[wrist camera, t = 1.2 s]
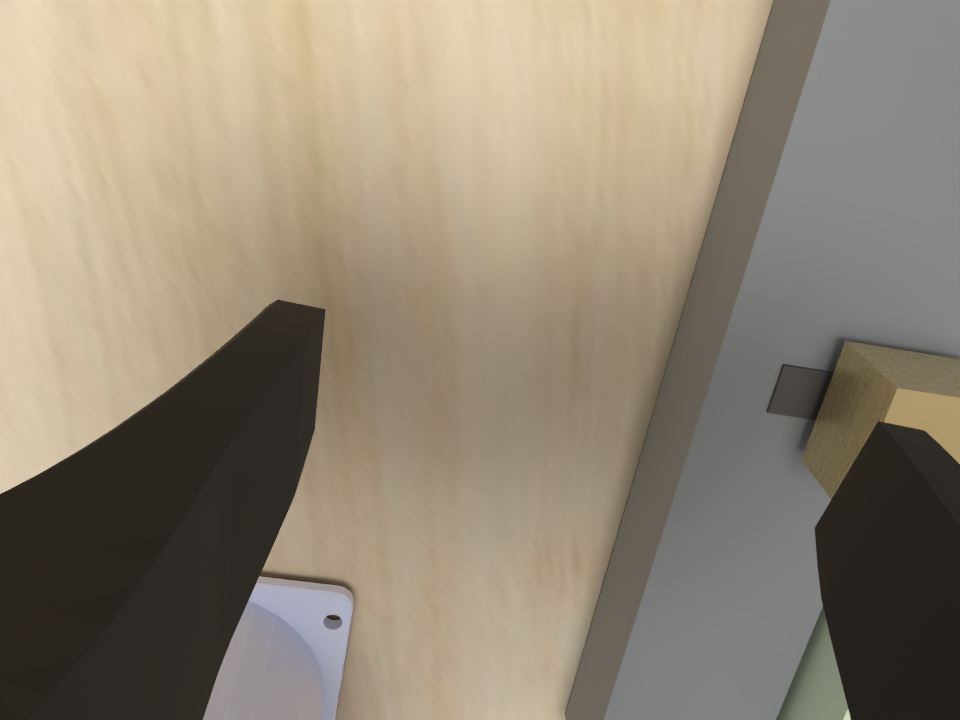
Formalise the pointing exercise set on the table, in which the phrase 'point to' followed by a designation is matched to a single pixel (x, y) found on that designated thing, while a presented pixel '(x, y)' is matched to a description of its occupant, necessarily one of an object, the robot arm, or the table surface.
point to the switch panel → (780, 355)
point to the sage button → (816, 682)
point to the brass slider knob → (882, 405)
